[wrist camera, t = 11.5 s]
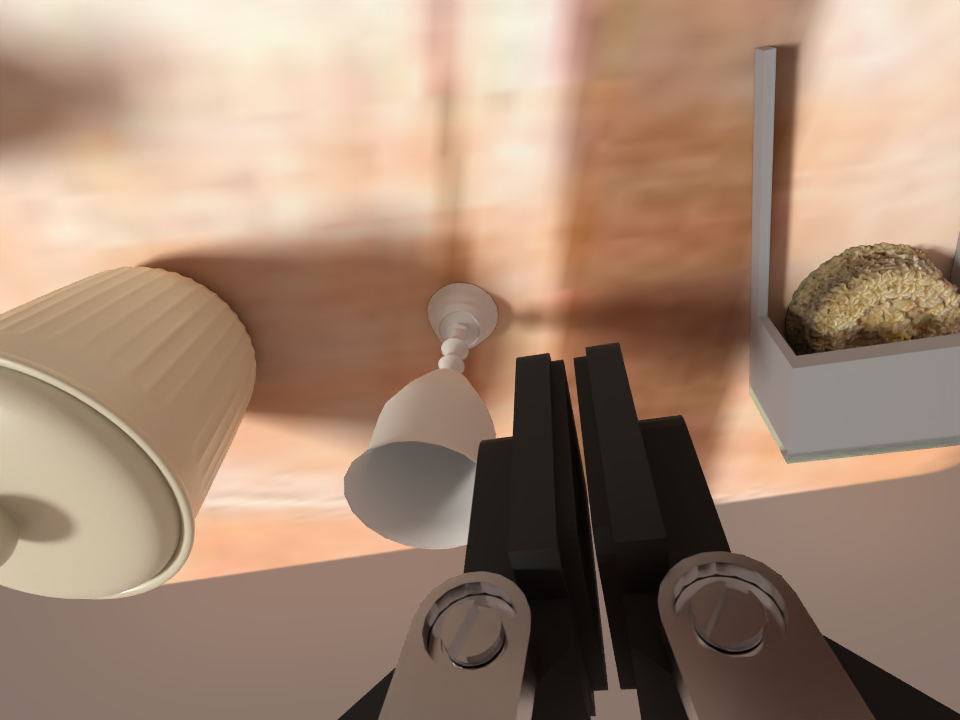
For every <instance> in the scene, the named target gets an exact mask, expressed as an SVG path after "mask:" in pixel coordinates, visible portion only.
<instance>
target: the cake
mask: <svg viewBox="0 0 960 720" xmlns="http://www.w3.org/2000/svg"><path fill="white" fill-rule="evenodd" d="M910 248H911V247H910V246H909V245H904V244H900V245H897V246H894V245H891V244H889V243H883V242H882V243H880V244H874V246H870V245H868V246H861V245H860V246H858V247H851V248H849V249H846V250H845V251H844V252H843V253H841V254H840V255H839V256H834V257H832V259H830V260H828V261H826V262H825V263H823V264H821V265H820V267H819V268H818V269H817V270H814V271H813V272H811V273H810V274H809V276H808V277H807V278H805V279H804V280H803V281H802V282H801V284H800V286H799V288H798V289H797V290H796V291H795V292H794V294H793V299H792V302H791V303H790V304H789V307H788V313H787V318H786V319H785V320H786V324H785V325H786V326H785V327H786V328H785V330H786V331H787V333H788V335H787V339H788V341H789V342H790V343H791V348H792V349H793V350H794V351H795V352H796V354H797V356H800V355H807V354H814V353H822V352H829V351H836V350H843V349H850V348H858V347H865V346H872V345H879V344H887V343H894V342H901V341H908V340H916V339H923V338H930V337H937V336H945V335H952V334H958V331H957V330H960V326H959V324H958V322H959V321H960V294H958V293H956V292H957V289H958V288H957V287H956V285H951V283H950V282H949V281H947V279H945V278H943V274H942V272H941V271H940V269H937V267H936V266H934V263H933V262H931V261H930V259H927V258H926V254H925V253H922V250H917V249H914V250H913V249H910Z"/></svg>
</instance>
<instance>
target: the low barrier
mask: <svg viewBox="0 0 960 720" xmlns="http://www.w3.org/2000/svg"><path fill="white" fill-rule="evenodd" d="M775 72H776V48H774V47H770V46H764V47H759V48H755V74H754V136H753V198H752V261H751V323H750V385H749V394H750V395H751V397H752V399H753V401H754V403H755V405H756V407H757V408H758V410H759V412H760V414H761V416H762V418H763V420H764V421H765V423H766V425H767V427H768V429H769V431H770V433H771V435H772V436H773V438H774V440H775V442H776V444H777V446H778V448H779V449H780V451H781V453H782V455H783V457H784V459H785V461H786V462H787V464H789V463H798V462H807V461H816V460H826V459H835V458H844V457H854V456H863V455H872V454H882V453H891V452H900V451H910V450H919V449H928V448H938V447H947V446H956V445H960V330H957V331H958V334H952V335H945V336H937V337H930V338H923V339H916V340H908V341H901V342H894V343H887V344H879V345H872V346H865V347H858V348H850V349H843V350H836V351H829V352H822V353H814V354H807V355H800V356H796V355H795V354H794V352H793V351H792V349H791V348H790V347H789V345H788V344H787V342H786V341H785V340H784V338H783V337H782V336H781V334H780V333H779V331H778V330H777V329H776V327H775V326H774V324H773V323H772V322H771V320H770V319H769V317H768V286H769V255H770V225H771V194H772V164H773V133H774V103H775ZM950 283H951V285H956V287H957V288H958V289H957V292H956V293H958V294H960V233H959V238H958V243H957V248H956V253H955V258H954V262H953V267H952V272H951V277H950ZM958 324H959V326H960V321H959V322H958Z"/></svg>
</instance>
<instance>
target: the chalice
mask: <svg viewBox="0 0 960 720" xmlns="http://www.w3.org/2000/svg"><path fill="white" fill-rule="evenodd" d="M428 318H429V322H430V325H431V326H432V328H433V330H434V332H435V334H436V335H437V337H438V338H439V340H440V341H441V342H443V344H442V346H441V351H442V354H443V355H444V356H443V357H442V358H441V359H440V360H439V363H438V366H439V369H436V370H433V371H431V372H429V373H427V374H425V375H423V376H421V377H419V378H417V379H415V380H413V381H411V382H410V383H409V384H408V385H406V386H405V387H404V388H403V389H402V390H400V391H399V392H398V393H397V394H396V395H395V396H393V397H392V398H391V399H390V400H389V401H388V402H386V404H385V406H384V408H383V410H382V412H381V414H380V416H379V418H378V421H377V424H376V427H375V429H374V432H373V435H372V438H371V440H370V443H369V446H368V449H367V451H366V452H364V453H363V454H362V455H361V456H359V457H358V458H357V459H355V460H354V461H353V462H352V463H351V465H350V467H349V469H348V471H347V473H346V475H345V477H344V495H345V497H346V499H347V501H348V503H349V506H350V508H351V510H352V512H353V513H354V514H355V515H356V516H357V517H358V518H359V519H360V520H361V521H362V522H363V523H364V524H365V525H366V526H367V527H369V528H370V529H372V530H373V531H375V532H377V533H378V534H380V535H381V536H383V537H385V538H387V539H390V540H393V541H395V542H398V543H401V544H404V545H406V546H413V547H419V548H425V549H446V548H454V547H458V546H462V545H466V544H467V541H468V532H469V524H470V515H471V507H472V498H473V490H474V482H475V473H476V465H477V456H478V449H479V444H480V442H481V441H482V440H489V439H495V437H496V433H495V429H494V425H493V422H492V419H491V417H490V414H489V412H488V410H487V408H486V406H485V403H484V401H483V400H482V399H481V397H480V396H479V394H478V393H477V391H476V390H475V389H474V388H473V386H472V385H471V384H470V382H469V381H468V380H467V378H466V377H465V376H463V375H462V374H461V373H462V372H463V371H464V368H465V365H464V362H463V361H462V360H464V359H465V358H466V357H467V356H468V354H469V349H470V348H472V347H475V346H477V345H478V344H479V343H481V342H482V341H483V340H485V339H486V338H487V337H488V336H489V335H491V334H492V332H493V330H494V329H495V327H496V325H497V320H498V312H497V307H496V304H495V303H494V301H493V299H492V297H491V296H490V295H489V294H488V293H487V292H485V291H484V290H483V289H481V288H479V287H477V286H475V285H473V284H467V283H454V284H449V285H447V286H445V287H442V288H440V289H439V290H438V291H437V292H436V293H435V294H434V295H433V296H432V298H431V300H430V302H429V304H428Z"/></svg>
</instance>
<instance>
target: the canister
mask: <svg viewBox="0 0 960 720" xmlns="http://www.w3.org/2000/svg"><path fill="white" fill-rule="evenodd" d="M256 366H257V365H256V360H255V350H254V348H253V346H252V344H251V338H250V336H249V335H248V334H247V332H246V330H245V326H244V324H242V323H241V322H240V320H239V319H238V316H237V314H236V313H234V312H233V311H232V310H231V309H230V307H229V306H228V304H227V303H225V302H224V301H222V300H221V299H220V298H219V297H218V295H217V294H216V293H213V292H211V291H210V290H209V289H207V288H206V287H205V286H204V285H201V284H199V283H197V282H195V281H194V280H193V279H191V278H188V277H184V276H182V275H180V274H178V273H176V272H168V271H166V270H164V269H161V268H154V269H152V268H149V267H142V266H141V267H135V268H134V267H122V268H118V269H115V270H108V271H104V272H101V273H98V274H95V275H92V276H90V277H87V278H85V279H82V280H80V281H78V282H75V283H73V284H70V285H68V286H65V287H63V288H60V289H58V290H56V291H53V292H51V293H49V294H46V295H44V296H41V297H39V298H37V299H34V300H32V301H30V302H27V303H25V304H23V305H21V306H18V307H16V308H14V309H11V310H9V311H7V312H5V313H3V314H0V585H3V586H6V587H9V588H12V589H16V590H19V591H23V592H27V593H32V594H36V595H42V596H48V597H55V598H70V599H114V598H121V597H128V596H132V595H137V594H140V593H144V592H146V591H149V590H152V589H154V588H156V587H158V586H160V585H162V584H163V583H165V582H167V581H168V580H169V579H171V578H172V577H173V576H174V575H175V574H176V573H177V572H178V571H179V570H180V569H181V568H182V566H183V565H184V563H185V562H186V560H187V558H188V556H189V554H190V552H191V549H192V546H193V541H194V533H195V518H196V516H197V514H198V511H199V509H200V507H201V505H202V504H203V502H204V499H205V497H206V495H207V493H208V491H209V489H210V487H211V485H212V482H213V480H214V478H215V476H216V474H217V472H218V470H219V468H220V466H221V464H222V462H223V460H224V458H225V456H226V453H227V451H228V449H229V447H230V445H231V443H232V441H233V438H234V436H235V434H236V432H237V430H238V427H239V425H240V423H241V420H242V418H243V416H244V414H245V411H246V409H247V407H248V404H249V402H250V399H251V397H252V393H253V388H254V385H255V381H256Z"/></svg>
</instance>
